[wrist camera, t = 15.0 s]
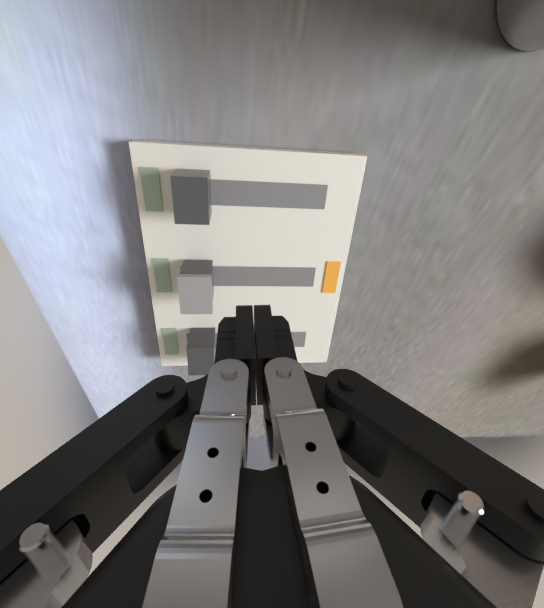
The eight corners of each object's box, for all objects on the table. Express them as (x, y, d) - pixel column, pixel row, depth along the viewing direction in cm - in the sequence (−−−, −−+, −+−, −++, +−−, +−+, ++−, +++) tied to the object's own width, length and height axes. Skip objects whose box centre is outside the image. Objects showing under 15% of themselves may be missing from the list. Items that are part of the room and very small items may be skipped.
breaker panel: (358, 153, 33) (384, 161, 27) (322, 350, 46) (334, 383, 41) (135, 139, 30) (114, 145, 25) (165, 353, 43) (155, 388, 38)
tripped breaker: (213, 259, 34) (211, 277, 31) (214, 293, 36) (212, 314, 33) (182, 259, 34) (176, 276, 30) (185, 293, 36) (180, 314, 32)
